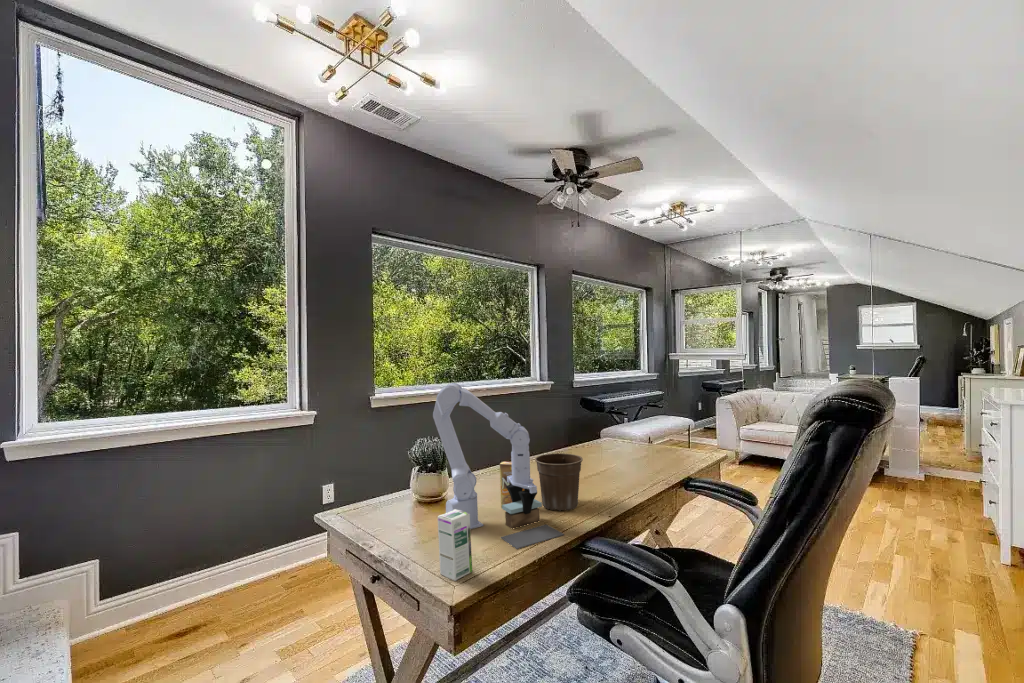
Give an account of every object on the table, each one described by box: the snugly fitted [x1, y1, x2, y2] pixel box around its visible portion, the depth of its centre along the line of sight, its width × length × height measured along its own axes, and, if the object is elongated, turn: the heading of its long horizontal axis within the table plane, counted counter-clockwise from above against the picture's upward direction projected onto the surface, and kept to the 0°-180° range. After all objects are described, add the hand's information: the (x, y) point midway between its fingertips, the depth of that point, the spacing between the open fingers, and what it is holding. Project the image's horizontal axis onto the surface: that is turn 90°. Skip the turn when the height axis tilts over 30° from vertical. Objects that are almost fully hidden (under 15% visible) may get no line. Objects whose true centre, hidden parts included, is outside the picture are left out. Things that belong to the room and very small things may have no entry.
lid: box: [501, 498, 543, 514], centre depth 141 cm, size 11×5×1 cm, turn 121°
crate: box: [504, 507, 541, 530], centre depth 141 cm, size 10×4×4 cm, turn 121°
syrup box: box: [437, 509, 473, 582], centre depth 112 cm, size 6×6×14 cm
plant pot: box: [534, 452, 583, 512], centre depth 156 cm, size 16×16×16 cm
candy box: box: [499, 460, 524, 509], centre depth 155 cm, size 9×4×15 cm, turn 68°
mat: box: [500, 524, 565, 550], centre depth 131 cm, size 16×9×1 cm, turn 121°
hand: (522, 510), depth 141 cm, fingers closed on lid, 5 cm apart
